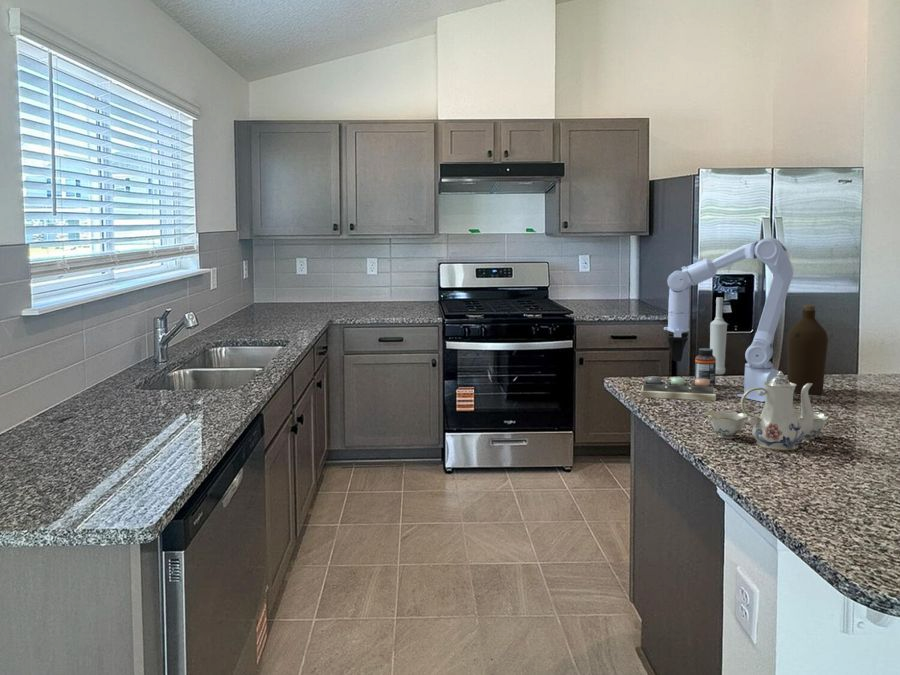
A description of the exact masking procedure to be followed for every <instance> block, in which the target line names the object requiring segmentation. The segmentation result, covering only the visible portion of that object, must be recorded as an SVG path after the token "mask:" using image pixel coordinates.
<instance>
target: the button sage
mask: <svg viewBox="0 0 900 675" xmlns="http://www.w3.org/2000/svg"><path fill="white" fill-rule="evenodd" d="M686 379H687V378H685V377H680V376H677V377H676V376H673V377H670V382H671V385H679V386H685V383H687V381H686Z"/></svg>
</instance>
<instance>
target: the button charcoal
mask: <svg viewBox="0 0 900 675" xmlns="http://www.w3.org/2000/svg"><path fill="white" fill-rule="evenodd" d="M662 378H663V377H662V376H659V375H658V376H657V375H654V376H653V375H652V376H651V375H649V376H647V379H646V381H647V384H657V385H662V382H663V380H662Z"/></svg>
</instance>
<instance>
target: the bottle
mask: <svg viewBox="0 0 900 675" xmlns="http://www.w3.org/2000/svg"><path fill="white" fill-rule="evenodd" d="M715 304H716V305H715V317H714V320H712V321H711V322H710V324H709V333H710V334H709V339H710V340H709V349H713V356H714V357H715V358H716V373H715V375H724V374H726V367H725V366H726V363H725V362H726V350H727V349H726V347H727V329H728V323H727V322H726V321H725V319H724V317H723V305H724V297H721V296H720V297H718V296H717V297H716V299H715Z"/></svg>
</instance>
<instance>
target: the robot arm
mask: <svg viewBox="0 0 900 675" xmlns="http://www.w3.org/2000/svg"><path fill="white" fill-rule="evenodd" d="M756 259H758V260H759V261H761V262H762V263H763V264H764V265H766V266H767V268H768V269H769V270H770V273H772V275H773V276H772V281H771V283H770V286H769V290H768V294H767V296H766V299H765V303H764V306H763V310H762V313H761V316H760V319H759V323H758V326H757V330H756V332H755V334H754V337H753V339H752V342H751V344H750V345H749V346H748V347H747V349H746V350H745V354H744V356H745V357H744V358H745V360H746V362H745V364H744V377H743V378H744V379H743V380H744V381H743V393H739V394H736V397H739V398H742V396H743V394H744V393H745V392H746V391H747V390H749V389H751V388H758V387H761V388H764V389H765V385H764V382H767V381H771V380H772V378H773V377H777V375H776V374H778V372H779V371H780V370H778V369H775V368H774V364H773V363H772V362H771V360H772V358H773V356H774V348H773V343H774V339H775V334H776V331H777V328H778V324H779V321H780V318H781V315H782V311H783V309H784V304H785V301H786V298H787V296H788V292H789V289H790V285H791V282H792V280H793V276H794V268H793V265H792V262H791V259H790V256H789V253H788V249H787V248H786V247H785V245H784V244H783V242H781V241H780V240H779V239H777V238H773V237H765V238H761V239H760V240H759V241H757V240H756V241H753V242H750V243H746V244H744V245H741V246H739V247H737V248H735V249H733V250H731V251H729V252H727V253H725V254H722V255H721V256H719V257H717V258H714V259H711V258H709V257H708V258H707V257H706V258H703V257H699V258H698V259H697V260H696V262H694V263H693V264H690V265H687V266H685V265H684V266H682V267H681V270H674V271H673V272H672V273H670V274H669V275H668V277H667V280H666V282H667V286H668V288H669V289H668V290H669V291H668V294H669V295H668V310H667V312H668V314H667V315H668V318H667V326H665V327H663V330H664V331H668V332H669V333H668V334H667V341H668V342H669V346H670V350H671V356H672V362H682V358H683V353H684V349H685V346H686V344H687V341H688V340H689V337H688V335H689V333H688V332H689V331H690V326H689V325H690V324H689V322H690V321H689V320H690V287H691V286H696V285H699V284H701V283H703V282H705V281H707V280H709V279H712V278H715V277H716V276H717V272H718V270H721V269H723V268H726V267H729V266H730V265H733V264H735V263H737V262H740V261H742V260H756ZM759 391H762V392H764V390H755V391H752V392H750V393H749V394H748V395H747V396H746V398H745V399H746V400H752V401H756V402H761V403H765V399H766V394H765V395H764V396H759Z"/></svg>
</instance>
